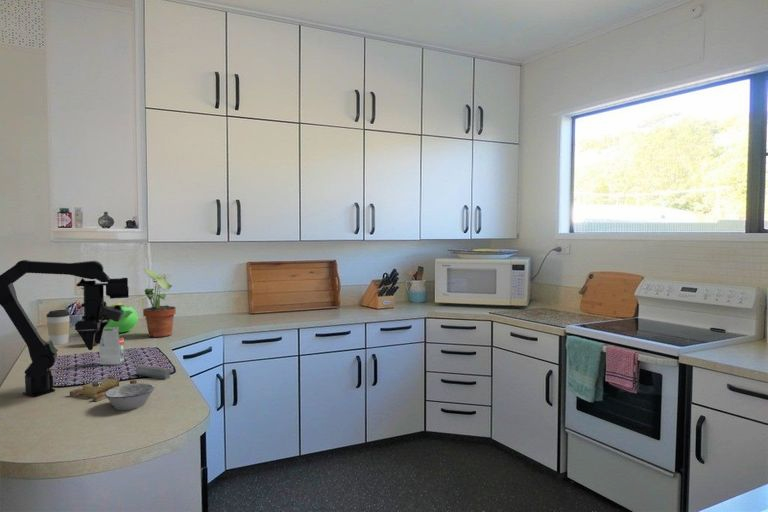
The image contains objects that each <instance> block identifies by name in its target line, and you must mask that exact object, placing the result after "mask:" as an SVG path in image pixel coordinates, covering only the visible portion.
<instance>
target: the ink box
mask: <svg viewBox="0 0 768 512" xmlns="http://www.w3.org/2000/svg"><path fill="white" fill-rule="evenodd" d="M108 328H109V329H113V331H105V329H108ZM124 338H125V337H120V333H119V327H104V330H103V334H102V338H101V342H100V344H98V351H99V365H101V366H113V365H114V366H117V365H118V366H119V365H122V364H124V363H125V341H124V340H125V339H124Z"/></svg>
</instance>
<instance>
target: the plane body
mask: <svg viewBox="0 0 768 512" xmlns="http://www.w3.org/2000/svg"><path fill="white" fill-rule="evenodd" d="M107 379H113V380H115V376H114V375H109V376H107ZM137 383H138V381H137V379H131V380H129V384H137ZM80 395H83V386H82V387H79V388H77V389H76V388H75V389H72V390H70V391H69V397H76V396H80ZM105 399H107V397H106V396H105V392H103V393H100V394H97V395H94V396H93V397H92V401H93V402H99V401H102V400H105Z"/></svg>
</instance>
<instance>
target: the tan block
mask: <svg viewBox="0 0 768 512" xmlns="http://www.w3.org/2000/svg"><path fill="white" fill-rule="evenodd" d="M118 386H120V380H119V379H114V380H113V379H108V378H102V379H98V380H96V381H95V380H94V381H93V382H89V383H86V384H83V385H82V387H83V394H82V396H83V397H88V398H93V396H94V395H97V394H100V393H103V392H106V391H108V390H109V389H112V388H114V387H118Z"/></svg>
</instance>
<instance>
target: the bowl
mask: <svg viewBox="0 0 768 512" xmlns="http://www.w3.org/2000/svg"><path fill="white" fill-rule="evenodd" d="M154 390H155V386H154V385H152V384H149V383H143V382H140V383H138V382H137V384H130V383H127V384H123V385H119V386H118V387H114V388H112V389H109V390H108V391H106V392H105V396H106V397H107V398H106V399H107V400H108V401H109V402H110V404H111V405H112V406H113V407H114V409H115V410H119V411H120V410H121V411H127V410H128V411H130V410H135V409H139V408H141V407H143V406H144V405H146V403H147V401H148V400H149V398H150V396H151V394H152V393H153V391H154ZM134 408H135V409H134Z"/></svg>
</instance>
